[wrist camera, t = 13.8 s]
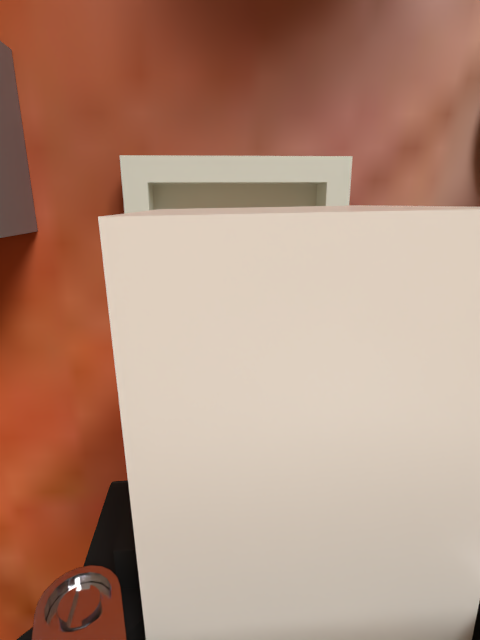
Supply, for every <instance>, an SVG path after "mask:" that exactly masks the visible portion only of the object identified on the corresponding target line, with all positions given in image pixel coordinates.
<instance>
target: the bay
mask: <svg viewBox="0 0 480 640" xmlns="http://www.w3.org/2000/svg"><path fill="white" fill-rule="evenodd" d="M37 231H38V230H37V223H36V217H35V210H34V203H33V196H32V189H31V182H30V175H29V168H28V161H27V155H26V148H25V141H24V134H23V127H22V120H21V113H20V106H19V99H18V93H17V86H16V79H15V72H14V65H13V58H12V51H11V49H10V48H9V47H7V46H6V45H5V44H3V43H2V42H1V41H0V238H3V237H8V236H14V235H20V234H26V233H31V232H37Z"/></svg>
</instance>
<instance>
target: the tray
mask: <svg viewBox="0 0 480 640" xmlns="http://www.w3.org/2000/svg"><path fill="white" fill-rule="evenodd" d="M120 166H121V178H122V190H123V201H124V213H133V212H141V211H149V210H157V209H195V208H248V207H301V206H349V199H350V184H351V170H352V156H125V155H120Z"/></svg>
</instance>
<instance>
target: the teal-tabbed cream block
mask: <svg viewBox="0 0 480 640" xmlns="http://www.w3.org/2000/svg"><path fill="white" fill-rule="evenodd" d="M98 220H99V229H100V238H101V247H102V256H103V265H104V273H105V282H106V291H107V300H108V309H109V318H110V326H111V335H112V344H113V353H114V362H115V371H116V380H117V388H118V397H119V406H120V415H121V424H122V433H123V441H124V450H125V459H126V468H127V477H128V486H129V495H130V503H131V512H132V521H133V530H134V539H135V548H136V557H137V565H138V574H139V583H140V592H141V601H142V610H143V618H144V627H145V636H146V640H472V636H473V631H474V626H475V621H476V616H477V611H478V606H479V601H480V207H456V206H364V205H355V206H301V207H248V208H195V209H157V210H149V211H141V212H133V213H125V214H117V215H109V216H101V217H98Z"/></svg>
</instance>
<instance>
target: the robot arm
mask: <svg viewBox="0 0 480 640" xmlns="http://www.w3.org/2000/svg"><path fill="white" fill-rule="evenodd" d="M17 640H146V636H145V627H144V618H143V610H142V601H141V592H140V583H139V574H138V565H137V557H136V548H135V539H134V530H133V521H132V512H131V503H130V495H129V486H128V481H115V482H112V483H111V485H110V487H109V490H108V493H107V496H106V500H105V503H104V506H103V509H102V512H101V515H100V518H99V521H98V524H97V527H96V530H95V533H94V536H93V539H92V542H91V545H90V548H89V551H88V554H87V557H86V560H85V563H84V567H79V568H76V569H74V570H72V571H69V572H67V573H65V574H64V575H62V576H61V577H59V578H58V579H56V580H55V581H54V582H53V583H52V584H51V585H50V586H49V587H48V588H47V589H46V590H45V591H44V593H43V595H42V596H41V598H40V600H39V601H38V603H37V607H36V611H35V614H34V623H33V627H32V628H31V629H30V630H28V631H27V632H26V633H25V634H23V635H22V636H21V637H19V638H18V639H17ZM472 640H480V601H479V606H478V611H477V616H476V621H475V626H474V631H473V636H472Z"/></svg>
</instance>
